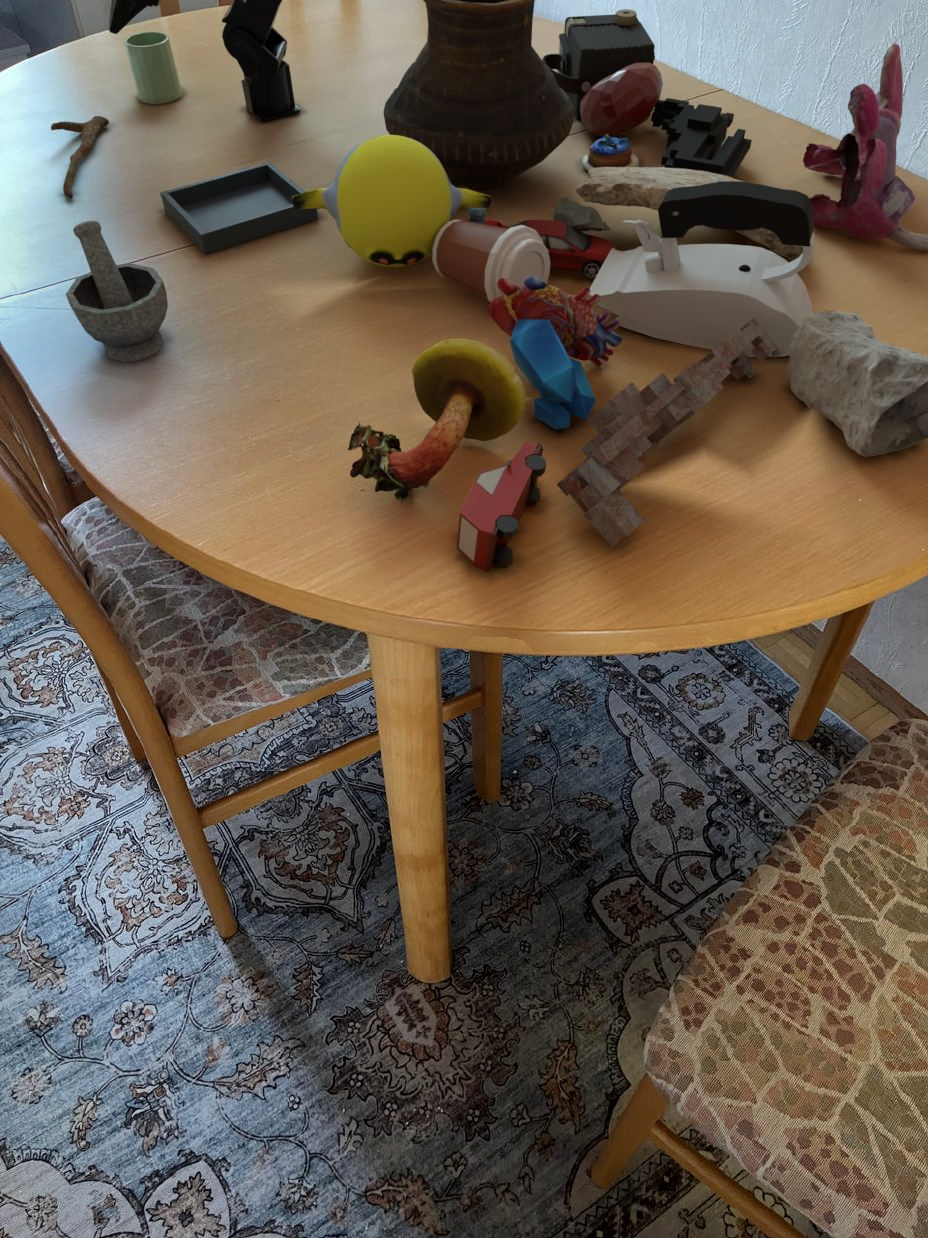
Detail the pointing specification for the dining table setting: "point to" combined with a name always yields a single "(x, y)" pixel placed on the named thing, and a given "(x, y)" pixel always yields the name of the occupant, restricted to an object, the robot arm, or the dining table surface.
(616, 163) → the dessert
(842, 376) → the decorative stone
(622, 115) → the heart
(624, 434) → the sculpture
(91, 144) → the branch
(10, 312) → the dining table surface
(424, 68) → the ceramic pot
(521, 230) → the coffee cup
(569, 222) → the stone
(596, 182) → the stone fragment
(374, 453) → the mushroom
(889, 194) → the toy
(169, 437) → the dining table surface
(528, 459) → the toy truck
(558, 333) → the anatomical model
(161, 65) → the cup
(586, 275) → the toy car
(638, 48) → the camera
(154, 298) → the mortar and pestle
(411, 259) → the toy
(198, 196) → the tray
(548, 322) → the crystal
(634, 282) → the iron
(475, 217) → the button
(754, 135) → the dining table surface
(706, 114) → the tool
